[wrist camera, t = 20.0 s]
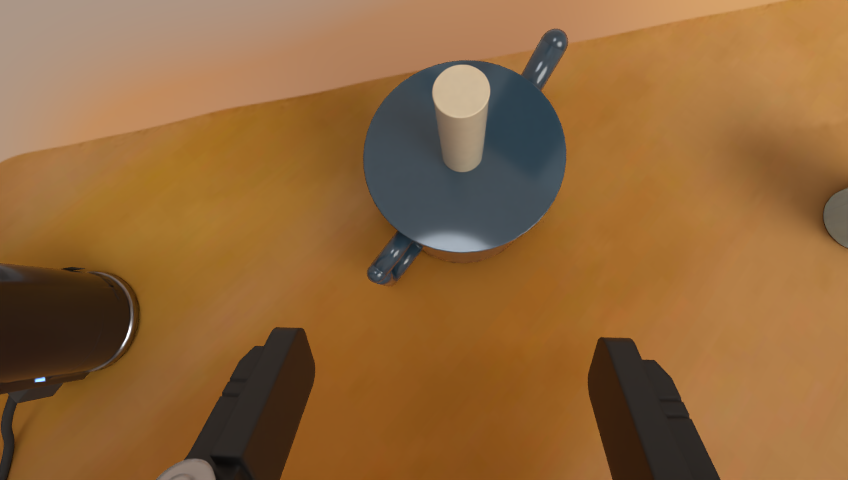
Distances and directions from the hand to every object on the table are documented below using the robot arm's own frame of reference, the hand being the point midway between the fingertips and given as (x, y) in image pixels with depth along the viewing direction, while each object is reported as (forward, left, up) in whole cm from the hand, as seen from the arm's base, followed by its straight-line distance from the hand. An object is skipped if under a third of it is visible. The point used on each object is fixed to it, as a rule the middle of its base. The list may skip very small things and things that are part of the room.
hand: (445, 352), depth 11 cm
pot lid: (+9, +7, -15) cm, 19 cm away
